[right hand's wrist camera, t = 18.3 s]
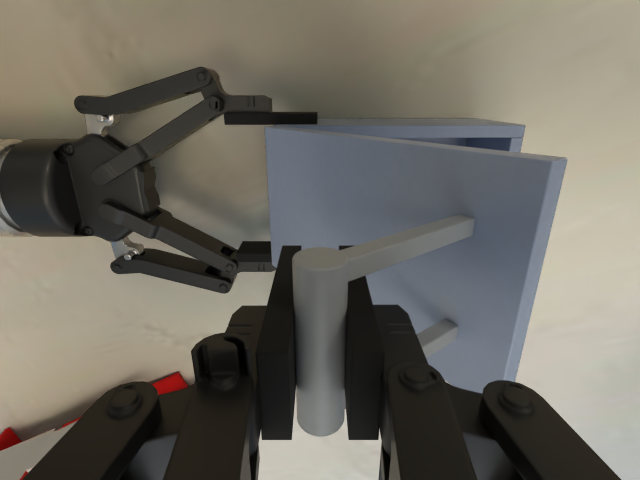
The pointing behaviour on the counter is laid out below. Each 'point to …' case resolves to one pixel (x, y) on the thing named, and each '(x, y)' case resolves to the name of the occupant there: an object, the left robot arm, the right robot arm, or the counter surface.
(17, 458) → the toy
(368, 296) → the right robot arm
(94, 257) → the counter surface
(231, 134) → the counter surface
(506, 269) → the lid
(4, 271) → the counter surface
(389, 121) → the chest
